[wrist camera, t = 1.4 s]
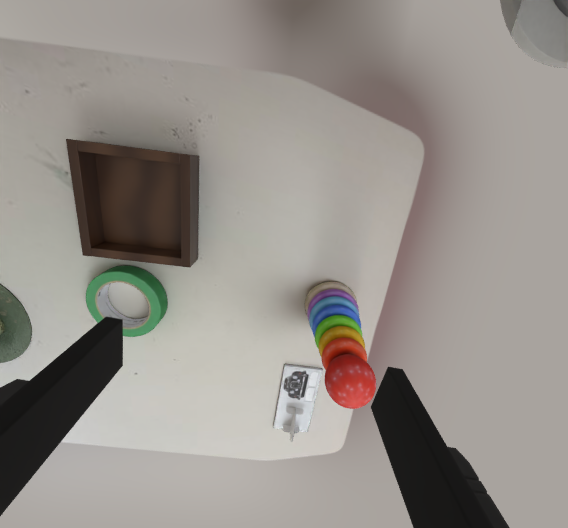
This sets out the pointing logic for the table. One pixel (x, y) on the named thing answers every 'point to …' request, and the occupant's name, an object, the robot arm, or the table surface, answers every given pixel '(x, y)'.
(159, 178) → the square tray
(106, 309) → the tape roll
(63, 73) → the table surface
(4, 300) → the frog figurine
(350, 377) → the stacking toy
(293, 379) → the car cutout
